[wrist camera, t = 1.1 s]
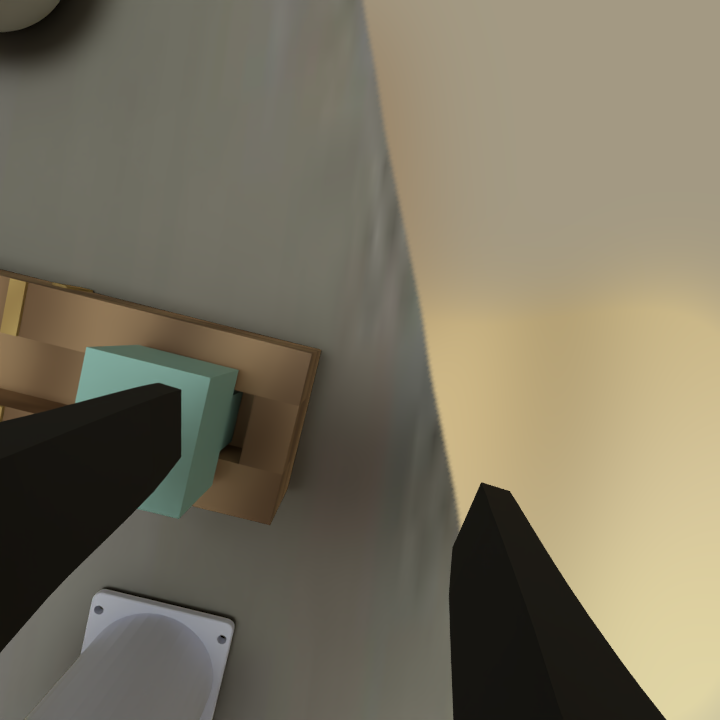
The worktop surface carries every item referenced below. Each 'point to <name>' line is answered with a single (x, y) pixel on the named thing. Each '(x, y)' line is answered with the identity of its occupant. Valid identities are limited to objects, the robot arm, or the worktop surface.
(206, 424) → the block
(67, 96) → the worktop surface
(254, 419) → the slotted wooden block
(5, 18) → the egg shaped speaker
